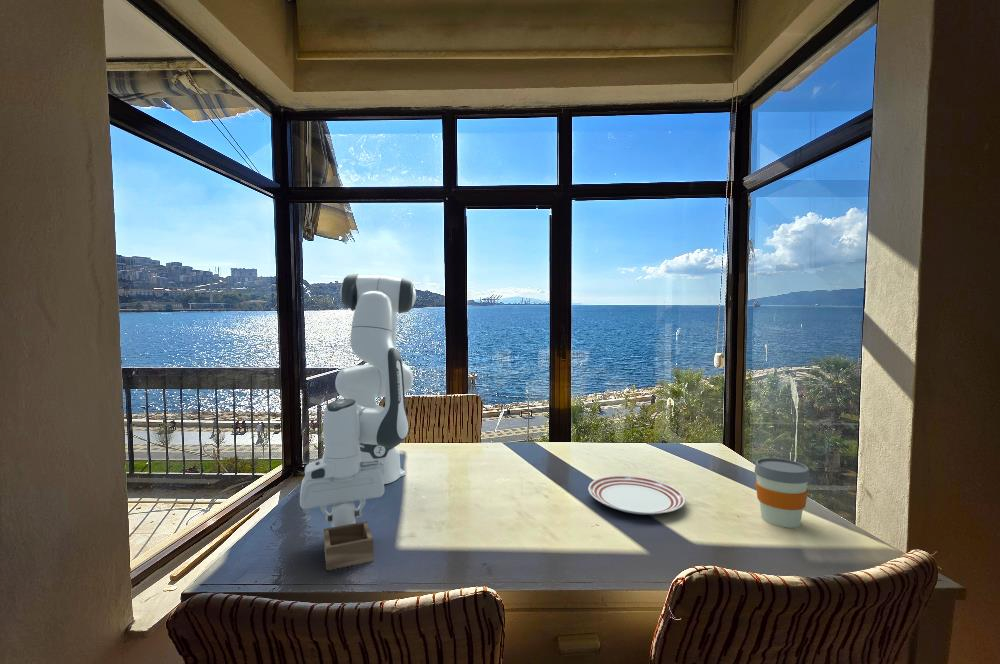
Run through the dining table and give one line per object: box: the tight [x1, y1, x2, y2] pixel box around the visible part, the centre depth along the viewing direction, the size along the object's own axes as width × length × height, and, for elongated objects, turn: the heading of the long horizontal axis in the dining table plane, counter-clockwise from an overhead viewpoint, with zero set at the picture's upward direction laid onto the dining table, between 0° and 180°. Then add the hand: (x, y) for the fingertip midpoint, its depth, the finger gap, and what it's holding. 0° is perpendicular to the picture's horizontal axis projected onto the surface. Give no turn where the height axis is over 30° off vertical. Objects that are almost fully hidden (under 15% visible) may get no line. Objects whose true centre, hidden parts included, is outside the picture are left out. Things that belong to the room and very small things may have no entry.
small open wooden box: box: [323, 520, 375, 571], centre depth 107 cm, size 10×10×5 cm
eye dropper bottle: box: [331, 501, 357, 528], centre depth 117 cm, size 4×6×12 cm
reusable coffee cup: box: [754, 457, 810, 529], centre depth 124 cm, size 13×13×15 cm
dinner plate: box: [587, 474, 686, 516], centre depth 137 cm, size 28×27×3 cm
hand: (343, 518), depth 117 cm, fingers closed on eye dropper bottle, 6 cm apart
